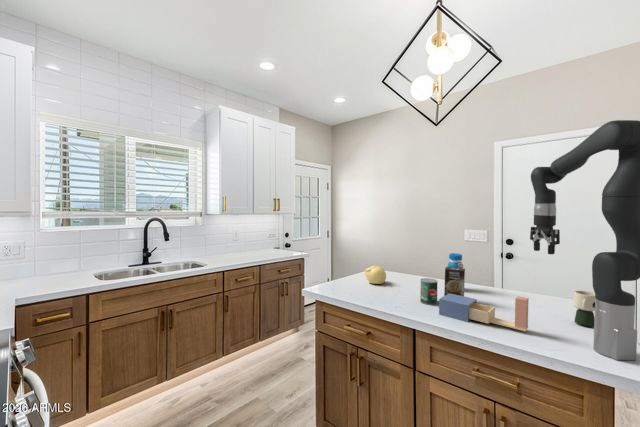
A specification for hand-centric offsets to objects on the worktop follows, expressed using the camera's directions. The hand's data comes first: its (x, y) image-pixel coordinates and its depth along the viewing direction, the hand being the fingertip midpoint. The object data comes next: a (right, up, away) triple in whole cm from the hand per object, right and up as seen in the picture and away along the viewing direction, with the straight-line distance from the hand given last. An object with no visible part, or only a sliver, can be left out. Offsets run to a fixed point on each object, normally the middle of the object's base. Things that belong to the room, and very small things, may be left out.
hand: (543, 252), depth 126 cm
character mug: (+12, -29, -6) cm, 32 cm away
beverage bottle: (-18, -27, +43) cm, 54 cm away
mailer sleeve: (-34, -28, +5) cm, 45 cm away
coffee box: (-27, -27, +24) cm, 45 cm away
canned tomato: (-41, -28, +21) cm, 54 cm away
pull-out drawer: (-24, -27, -5) cm, 37 cm away
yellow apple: (-61, -26, +56) cm, 86 cm away
